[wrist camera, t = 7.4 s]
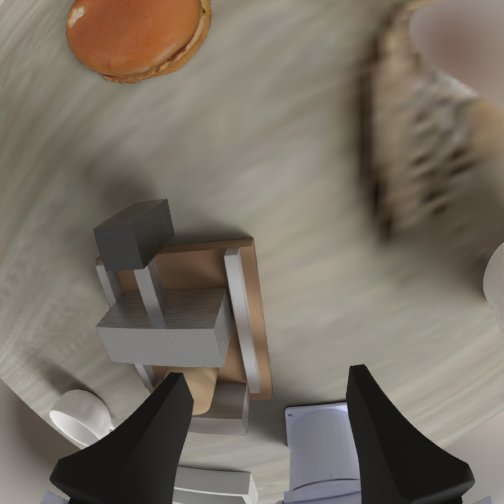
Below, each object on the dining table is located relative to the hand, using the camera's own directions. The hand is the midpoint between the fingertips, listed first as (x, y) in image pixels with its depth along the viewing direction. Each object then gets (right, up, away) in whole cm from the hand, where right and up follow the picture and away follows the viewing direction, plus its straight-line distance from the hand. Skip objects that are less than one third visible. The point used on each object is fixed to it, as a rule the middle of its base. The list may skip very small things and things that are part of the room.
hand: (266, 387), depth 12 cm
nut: (-5, -4, +12) cm, 13 cm away
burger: (-8, +22, +3) cm, 23 cm away
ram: (-6, +5, +8) cm, 11 cm away
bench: (-6, -1, +12) cm, 13 cm away
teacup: (-21, -14, +20) cm, 32 cm away
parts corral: (-8, -32, +26) cm, 42 cm away
